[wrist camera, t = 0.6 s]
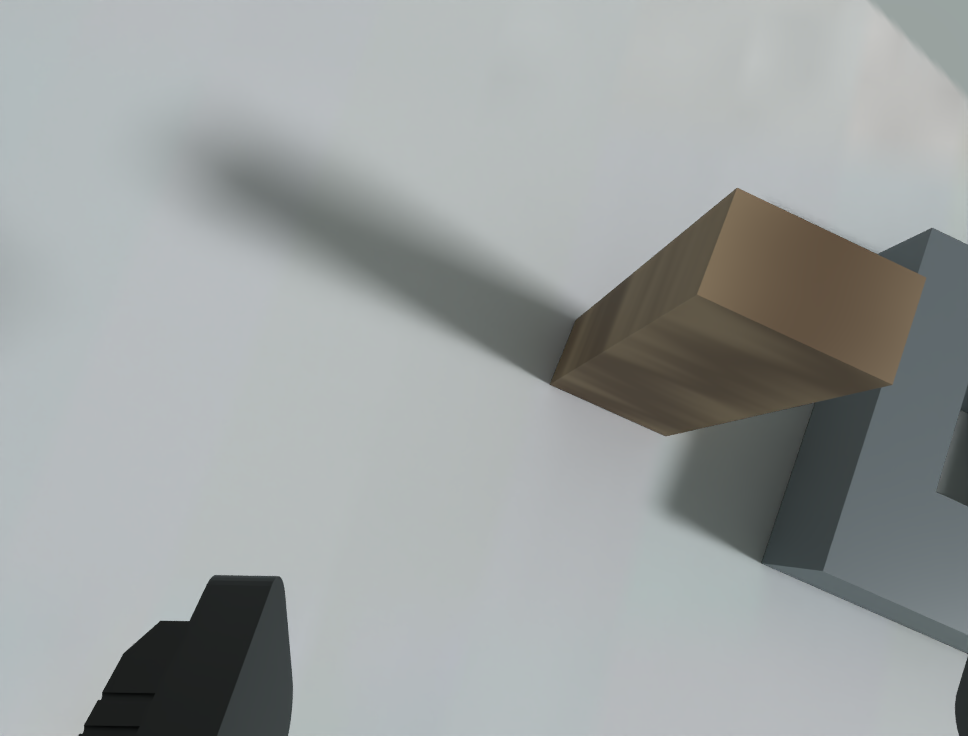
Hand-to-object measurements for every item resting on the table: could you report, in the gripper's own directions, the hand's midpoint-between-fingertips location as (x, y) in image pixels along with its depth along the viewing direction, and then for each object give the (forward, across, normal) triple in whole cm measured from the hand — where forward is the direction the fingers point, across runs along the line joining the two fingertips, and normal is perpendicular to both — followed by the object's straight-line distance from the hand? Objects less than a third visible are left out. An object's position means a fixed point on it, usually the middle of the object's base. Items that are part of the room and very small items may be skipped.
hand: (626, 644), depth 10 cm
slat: (+20, -3, +6) cm, 21 cm away
